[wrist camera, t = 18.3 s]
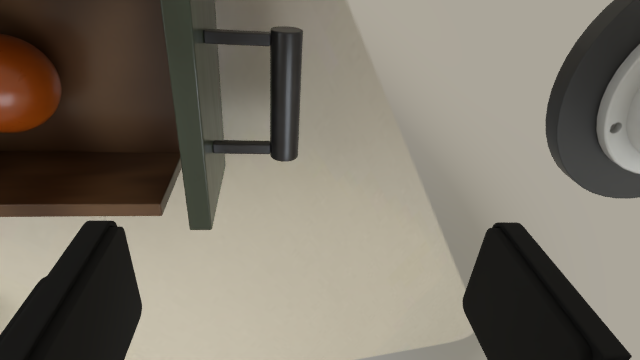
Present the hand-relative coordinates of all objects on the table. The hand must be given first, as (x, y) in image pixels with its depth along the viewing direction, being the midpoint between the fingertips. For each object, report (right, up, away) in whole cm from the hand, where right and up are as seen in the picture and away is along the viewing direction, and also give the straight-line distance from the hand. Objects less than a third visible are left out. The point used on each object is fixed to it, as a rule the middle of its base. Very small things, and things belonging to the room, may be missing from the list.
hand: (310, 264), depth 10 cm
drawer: (-11, +9, +14) cm, 20 cm away
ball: (-14, +7, +9) cm, 18 cm away
